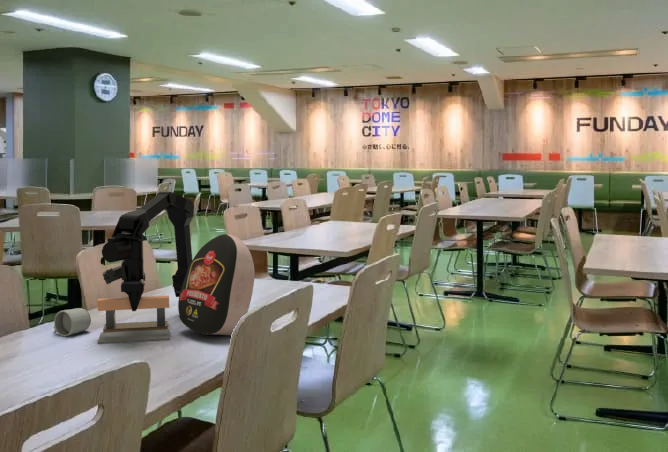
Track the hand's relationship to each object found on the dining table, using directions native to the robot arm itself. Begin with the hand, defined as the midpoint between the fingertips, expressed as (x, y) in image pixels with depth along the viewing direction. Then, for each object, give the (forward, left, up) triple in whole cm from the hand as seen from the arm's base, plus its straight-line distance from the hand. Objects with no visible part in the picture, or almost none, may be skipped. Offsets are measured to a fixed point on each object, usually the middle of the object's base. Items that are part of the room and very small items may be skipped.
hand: (134, 309), depth 202 cm
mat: (0, 0, -8) cm, 8 cm away
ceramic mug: (+19, -9, -9) cm, 23 cm away
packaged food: (-24, 0, -9) cm, 25 cm away
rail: (0, 0, 0) cm, 0 cm away
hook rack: (0, -11, -8) cm, 14 cm away
